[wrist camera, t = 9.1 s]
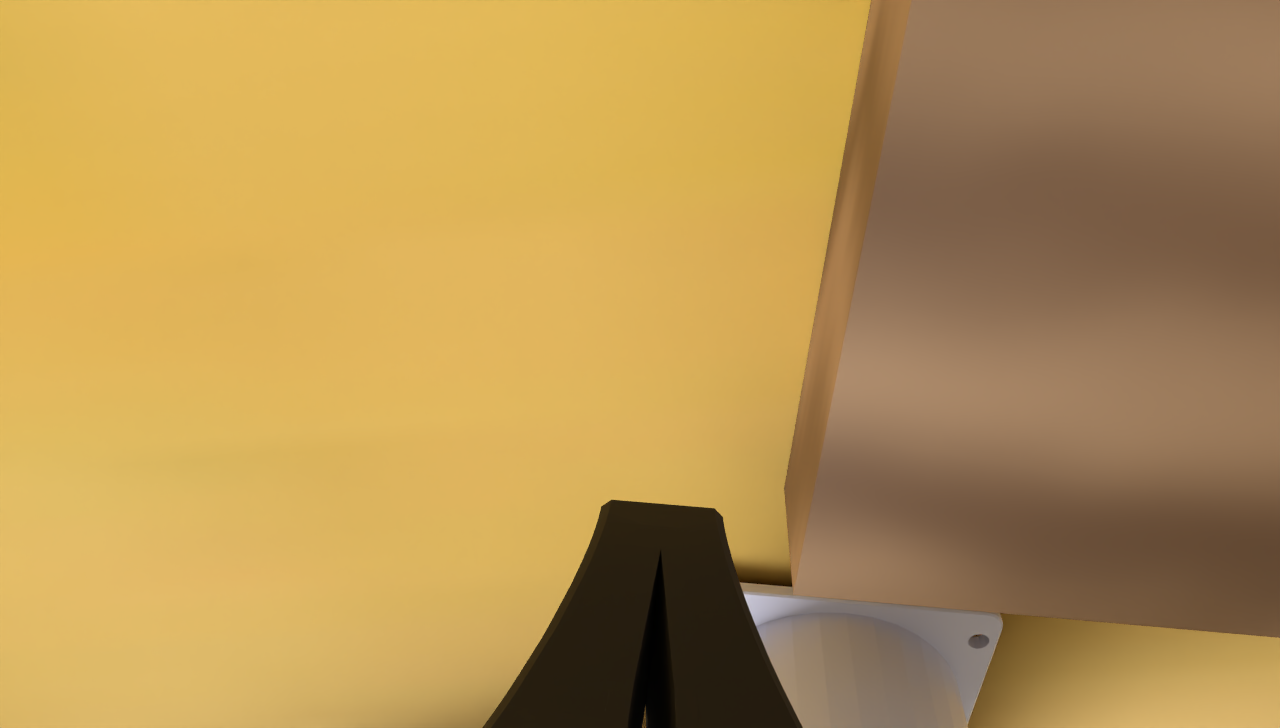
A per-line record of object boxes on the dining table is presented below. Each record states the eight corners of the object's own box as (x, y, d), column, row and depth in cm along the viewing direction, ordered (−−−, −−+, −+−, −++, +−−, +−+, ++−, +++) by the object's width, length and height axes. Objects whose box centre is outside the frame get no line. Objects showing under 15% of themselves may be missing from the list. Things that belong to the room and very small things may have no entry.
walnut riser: (1286, 531, 25) (1361, 644, 22) (784, 488, 25) (793, 594, 22) (1788, -399, 15) (2046, -418, 12) (952, -459, 15) (1008, -489, 12)
